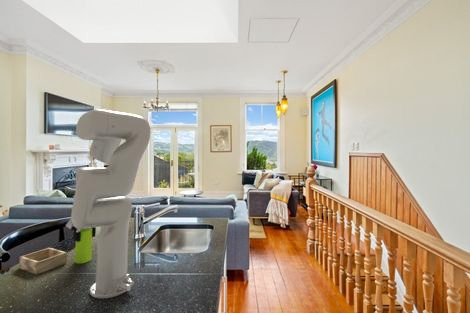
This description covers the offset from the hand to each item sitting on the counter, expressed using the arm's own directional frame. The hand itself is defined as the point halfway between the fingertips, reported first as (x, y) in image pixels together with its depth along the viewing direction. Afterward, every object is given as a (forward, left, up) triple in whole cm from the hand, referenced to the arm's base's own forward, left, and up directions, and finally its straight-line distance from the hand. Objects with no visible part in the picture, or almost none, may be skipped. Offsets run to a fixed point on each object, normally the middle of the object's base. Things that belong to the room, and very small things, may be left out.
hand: (84, 238), depth 101 cm
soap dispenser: (0, 0, -10) cm, 10 cm away
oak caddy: (+10, +10, -10) cm, 17 cm away
